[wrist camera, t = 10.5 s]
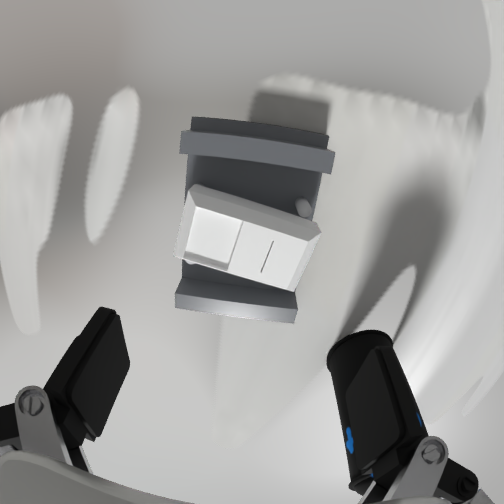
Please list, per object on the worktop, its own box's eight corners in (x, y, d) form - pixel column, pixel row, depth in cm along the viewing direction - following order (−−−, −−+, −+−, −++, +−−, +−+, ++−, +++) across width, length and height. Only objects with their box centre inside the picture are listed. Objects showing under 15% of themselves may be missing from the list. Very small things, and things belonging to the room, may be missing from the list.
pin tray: (195, 116, 19) (182, 116, 16) (326, 134, 20) (338, 137, 17) (184, 293, 26) (175, 316, 23) (288, 307, 27) (291, 332, 24)
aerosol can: (394, 361, 31) (442, 499, 13) (334, 383, 32) (359, 528, 14) (388, 318, 27) (457, 486, 9) (317, 345, 29) (346, 526, 11)
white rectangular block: (291, 278, 22) (294, 298, 20) (179, 245, 21) (169, 261, 19) (316, 222, 20) (324, 237, 18) (194, 183, 19) (185, 193, 17)
